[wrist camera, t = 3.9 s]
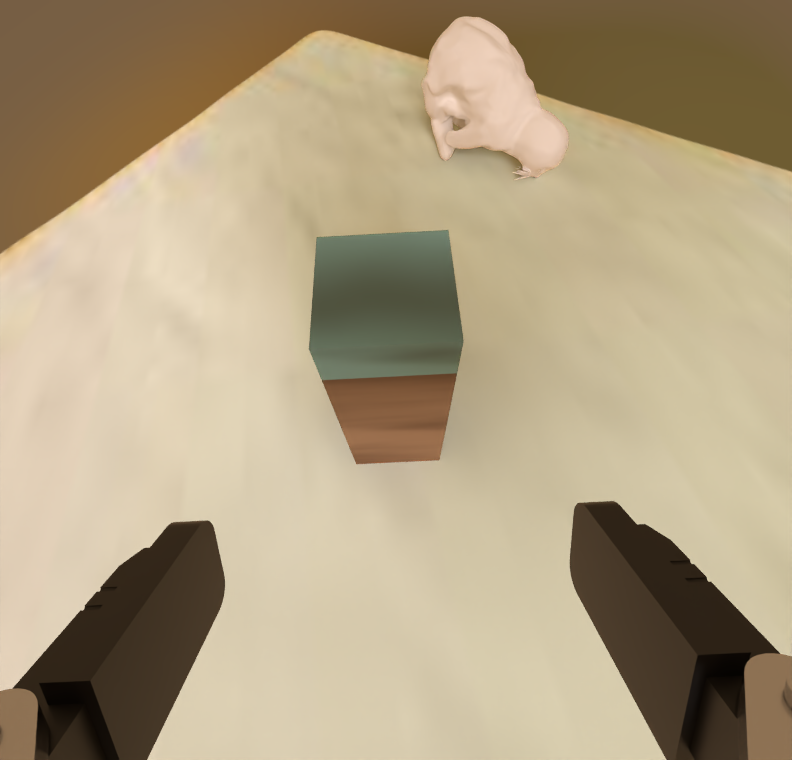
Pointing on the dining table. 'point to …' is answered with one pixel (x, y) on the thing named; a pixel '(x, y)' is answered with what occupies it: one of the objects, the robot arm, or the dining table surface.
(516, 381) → the dining table surface
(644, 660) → the robot arm
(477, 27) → the pink animal figurine
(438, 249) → the green and brown block
